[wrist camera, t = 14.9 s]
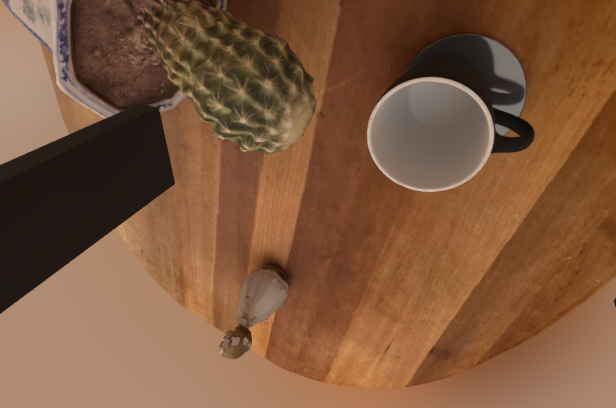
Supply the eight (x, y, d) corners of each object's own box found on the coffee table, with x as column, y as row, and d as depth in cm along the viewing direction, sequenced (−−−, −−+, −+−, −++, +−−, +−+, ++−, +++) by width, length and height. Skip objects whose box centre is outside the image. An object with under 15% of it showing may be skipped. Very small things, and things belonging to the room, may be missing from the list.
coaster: (546, 39, 30) (547, 41, 30) (502, 160, 36) (502, 163, 36) (409, 27, 33) (408, 28, 33) (390, 140, 40) (389, 142, 39)
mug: (385, 130, 39) (358, 176, 31) (403, 38, 33) (376, 65, 26) (508, 158, 35) (513, 217, 28) (551, 60, 30) (571, 100, 22)
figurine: (257, 250, 58) (198, 326, 46) (297, 267, 56) (247, 349, 45) (254, 284, 62) (201, 360, 51) (291, 300, 61) (245, 382, 49)
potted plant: (-12, 74, 37) (195, 260, 27) (-67, -173, 26) (244, -6, 16) (147, 60, 50) (324, 182, 40) (154, -109, 39) (398, 5, 29)
